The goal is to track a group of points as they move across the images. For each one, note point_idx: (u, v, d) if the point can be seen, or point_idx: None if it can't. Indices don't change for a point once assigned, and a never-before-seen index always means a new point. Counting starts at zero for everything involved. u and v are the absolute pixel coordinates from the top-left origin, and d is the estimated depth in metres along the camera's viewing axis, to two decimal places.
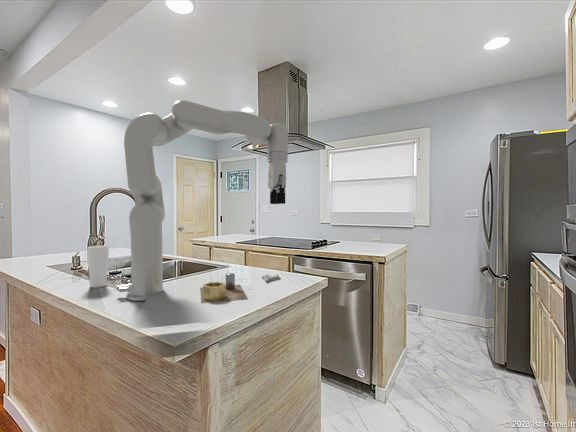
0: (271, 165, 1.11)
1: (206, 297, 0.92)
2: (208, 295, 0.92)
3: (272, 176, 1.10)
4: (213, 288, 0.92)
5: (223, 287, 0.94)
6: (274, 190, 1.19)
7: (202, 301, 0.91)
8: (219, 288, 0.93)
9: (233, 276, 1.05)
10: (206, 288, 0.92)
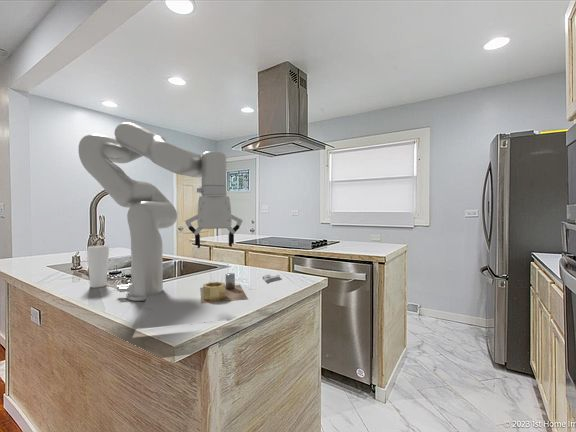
0: (219, 201, 0.92)
1: (206, 297, 0.92)
2: (208, 295, 0.92)
3: (225, 215, 0.93)
4: (213, 288, 0.92)
5: (223, 287, 0.94)
6: None
7: (202, 301, 0.91)
8: (219, 288, 0.93)
9: (233, 276, 1.05)
10: (206, 288, 0.92)
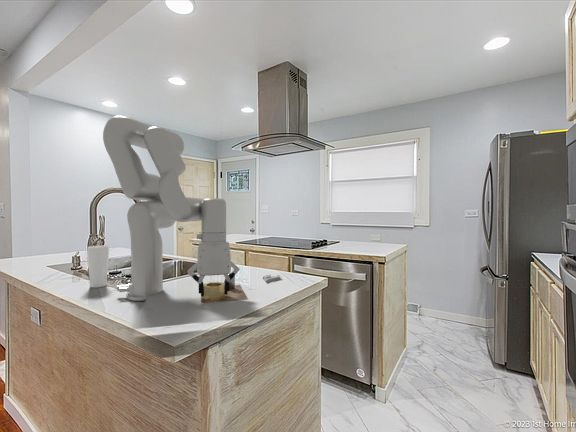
0: (219, 248, 0.93)
1: (206, 297, 0.92)
2: (208, 295, 0.92)
3: (224, 261, 0.93)
4: (213, 288, 0.92)
5: (223, 287, 0.94)
6: (199, 278, 0.94)
7: (202, 301, 0.91)
8: (219, 288, 0.93)
9: None
10: (206, 288, 0.92)
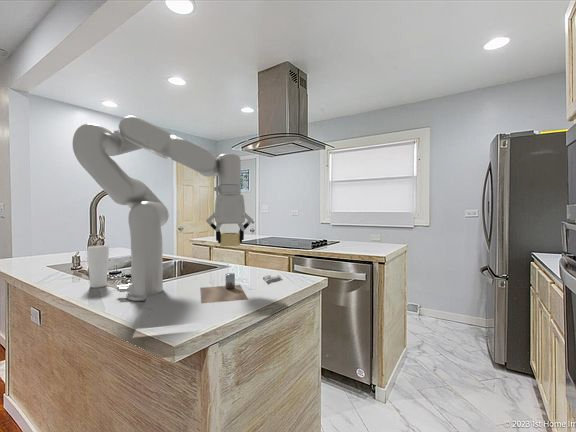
0: (234, 199, 1.02)
1: (223, 243, 1.02)
2: (225, 242, 1.01)
3: (239, 211, 1.03)
4: (229, 235, 1.01)
5: (238, 235, 1.04)
6: (216, 227, 1.04)
7: (202, 301, 0.91)
8: (235, 235, 1.02)
9: (233, 276, 1.05)
10: (223, 235, 1.02)
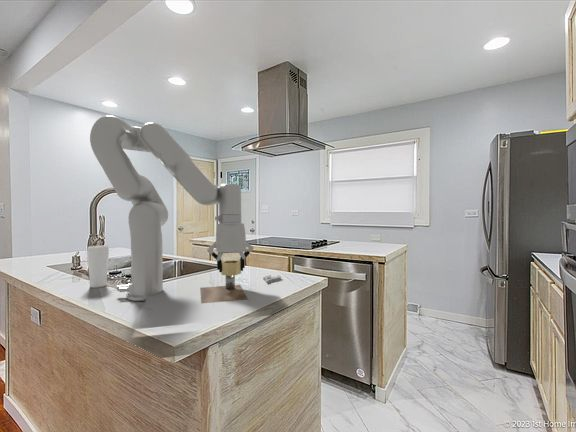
0: (235, 228, 1.03)
1: (224, 272, 1.03)
2: (226, 271, 1.02)
3: (240, 240, 1.04)
4: (231, 264, 1.02)
5: (239, 264, 1.04)
6: None
7: (202, 301, 0.91)
8: (236, 264, 1.03)
9: (233, 276, 1.05)
10: (224, 264, 1.03)
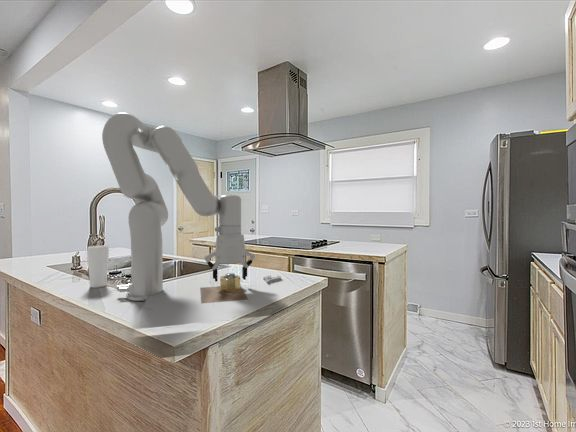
0: (235, 240, 1.03)
1: (223, 288, 1.03)
2: (225, 286, 1.02)
3: (240, 252, 1.04)
4: (230, 280, 1.02)
5: (238, 279, 1.05)
6: (214, 265, 1.04)
7: (202, 301, 0.91)
8: (235, 280, 1.03)
9: (233, 276, 1.05)
10: (223, 280, 1.03)
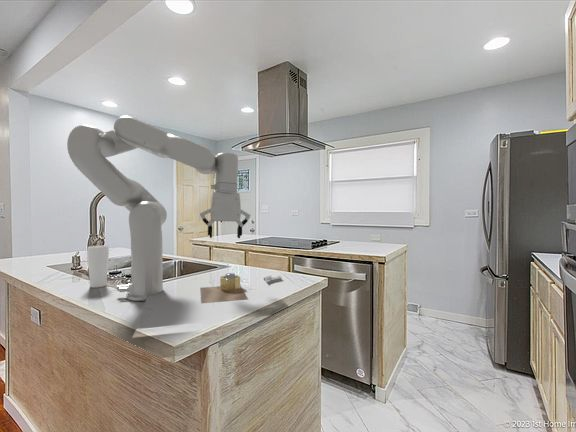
0: (231, 197, 1.04)
1: (223, 288, 1.03)
2: (225, 286, 1.02)
3: (235, 210, 1.04)
4: (230, 280, 1.02)
5: (238, 279, 1.05)
6: None
7: (202, 301, 0.91)
8: (235, 280, 1.03)
9: (233, 276, 1.05)
10: (223, 280, 1.03)
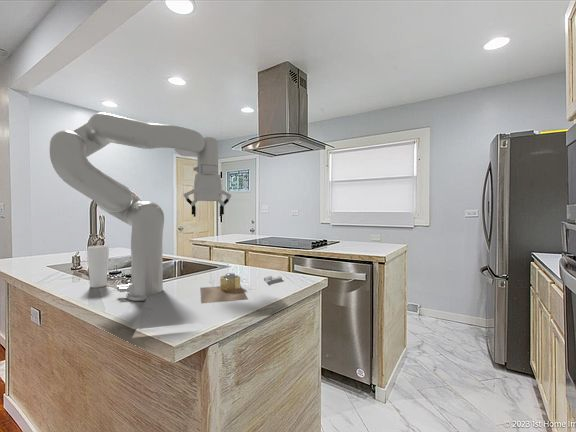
0: (212, 178, 1.12)
1: (223, 288, 1.03)
2: (225, 286, 1.02)
3: (216, 190, 1.12)
4: (230, 280, 1.02)
5: (238, 279, 1.05)
6: (192, 202, 1.13)
7: (202, 301, 0.91)
8: (235, 280, 1.03)
9: (233, 276, 1.05)
10: (223, 280, 1.03)
